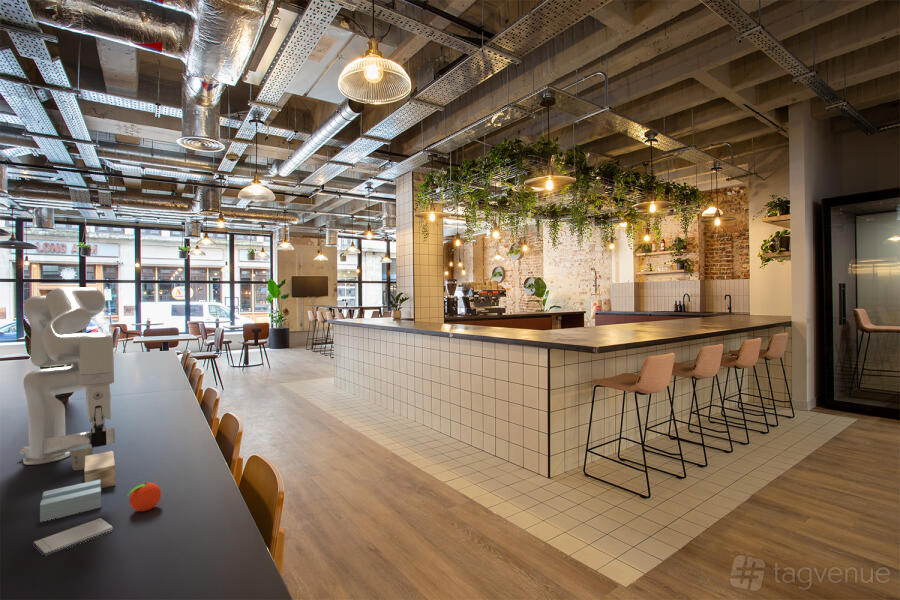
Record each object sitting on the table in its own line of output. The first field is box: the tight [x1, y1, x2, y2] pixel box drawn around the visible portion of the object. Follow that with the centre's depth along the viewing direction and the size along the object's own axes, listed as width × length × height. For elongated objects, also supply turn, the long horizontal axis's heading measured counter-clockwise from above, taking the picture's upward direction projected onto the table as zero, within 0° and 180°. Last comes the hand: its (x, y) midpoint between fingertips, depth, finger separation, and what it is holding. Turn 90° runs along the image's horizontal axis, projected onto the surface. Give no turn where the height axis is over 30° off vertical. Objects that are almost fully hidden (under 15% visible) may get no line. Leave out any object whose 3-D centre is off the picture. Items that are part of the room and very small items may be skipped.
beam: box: [84, 450, 116, 489], centre depth 135 cm, size 7×16×6 cm, turn 39°
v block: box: [39, 480, 102, 523], centre depth 118 cm, size 12×12×4 cm
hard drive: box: [33, 518, 114, 553], centre depth 102 cm, size 2×8×12 cm
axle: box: [42, 427, 116, 456], centre depth 120 cm, size 15×4×4 cm, turn 130°
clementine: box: [125, 482, 162, 512], centre depth 115 cm, size 8×7×7 cm
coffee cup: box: [69, 447, 94, 471], centre depth 145 cm, size 7×7×10 cm
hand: (98, 443), depth 122 cm, fingers closed on axle, 4 cm apart
